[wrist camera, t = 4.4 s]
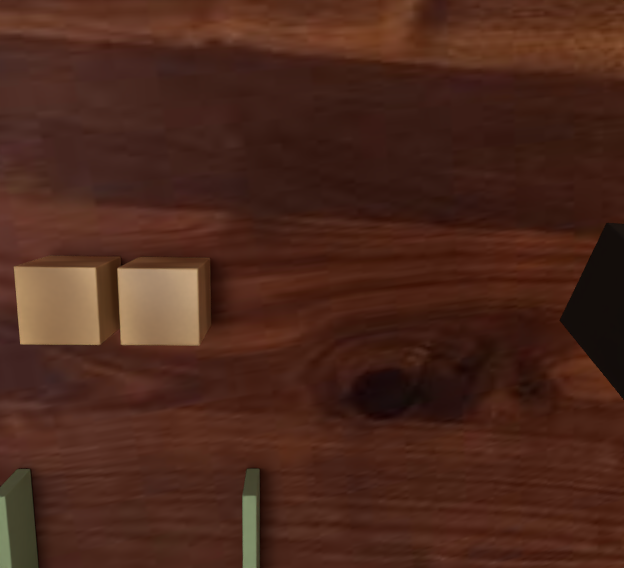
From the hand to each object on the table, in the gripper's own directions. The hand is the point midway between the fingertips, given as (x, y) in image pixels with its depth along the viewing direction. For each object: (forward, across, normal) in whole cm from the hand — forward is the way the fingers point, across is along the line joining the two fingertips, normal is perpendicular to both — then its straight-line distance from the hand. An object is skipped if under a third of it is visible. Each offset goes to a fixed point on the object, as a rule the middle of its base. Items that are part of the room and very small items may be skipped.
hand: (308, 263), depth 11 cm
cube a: (+16, -4, -13) cm, 21 cm away
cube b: (+17, -9, -13) cm, 23 cm away
